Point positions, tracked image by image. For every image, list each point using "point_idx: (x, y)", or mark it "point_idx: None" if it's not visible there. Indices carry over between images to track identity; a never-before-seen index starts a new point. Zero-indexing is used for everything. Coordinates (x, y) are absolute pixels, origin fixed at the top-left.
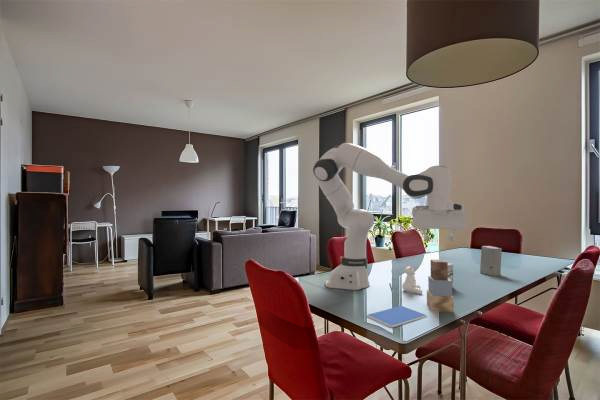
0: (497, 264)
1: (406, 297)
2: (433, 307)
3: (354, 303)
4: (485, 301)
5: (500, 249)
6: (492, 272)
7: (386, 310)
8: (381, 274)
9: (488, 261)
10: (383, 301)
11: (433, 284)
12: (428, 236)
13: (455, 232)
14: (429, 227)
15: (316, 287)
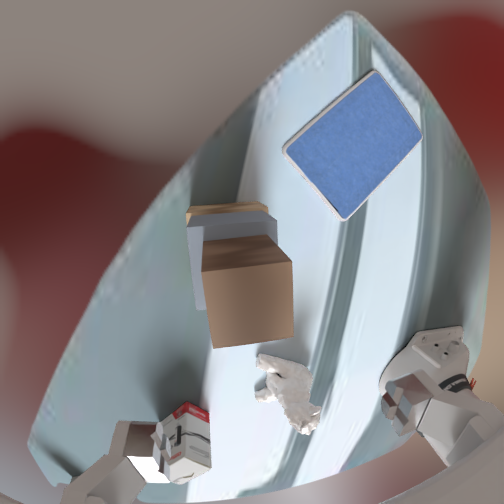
0: None
1: (310, 314)
2: (254, 202)
3: (438, 227)
4: (86, 326)
5: None
6: None
7: (385, 172)
8: (325, 459)
9: None
10: (378, 260)
11: (269, 217)
12: (414, 399)
13: (83, 487)
14: (483, 458)
15: (475, 319)
